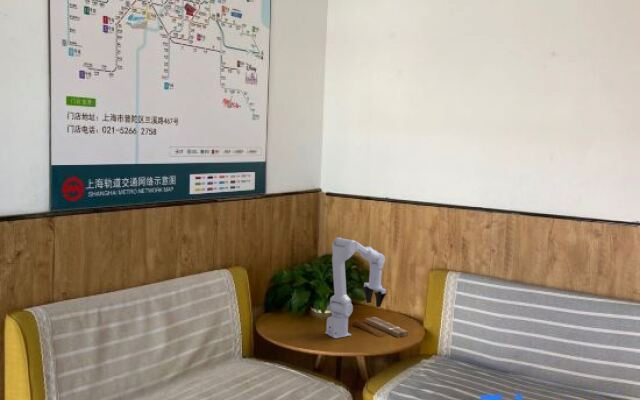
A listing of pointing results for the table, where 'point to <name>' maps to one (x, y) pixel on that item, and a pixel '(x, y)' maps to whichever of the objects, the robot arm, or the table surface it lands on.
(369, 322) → the walnut plank
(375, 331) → the primitive tool
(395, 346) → the table surface
